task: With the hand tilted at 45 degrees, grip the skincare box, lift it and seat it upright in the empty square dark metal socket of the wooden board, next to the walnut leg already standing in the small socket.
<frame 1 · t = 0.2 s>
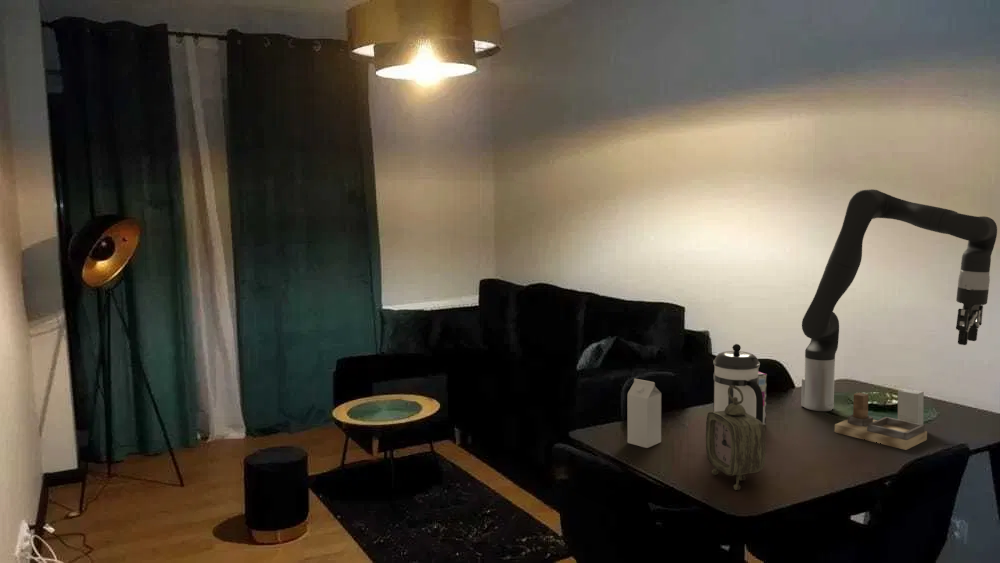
hand: (967, 342, 217), 29 cm above the table, tool pointing down, fingers open, 8 cm apart
skincare box: (909, 430, 230), on the table
wooden board: (879, 435, 225), on the table
coffee press: (738, 447, 219), on the table
candy bar box: (749, 421, 242), on the table
tabletop clock: (735, 482, 193), on the table
milk carton: (644, 443, 224), on the table
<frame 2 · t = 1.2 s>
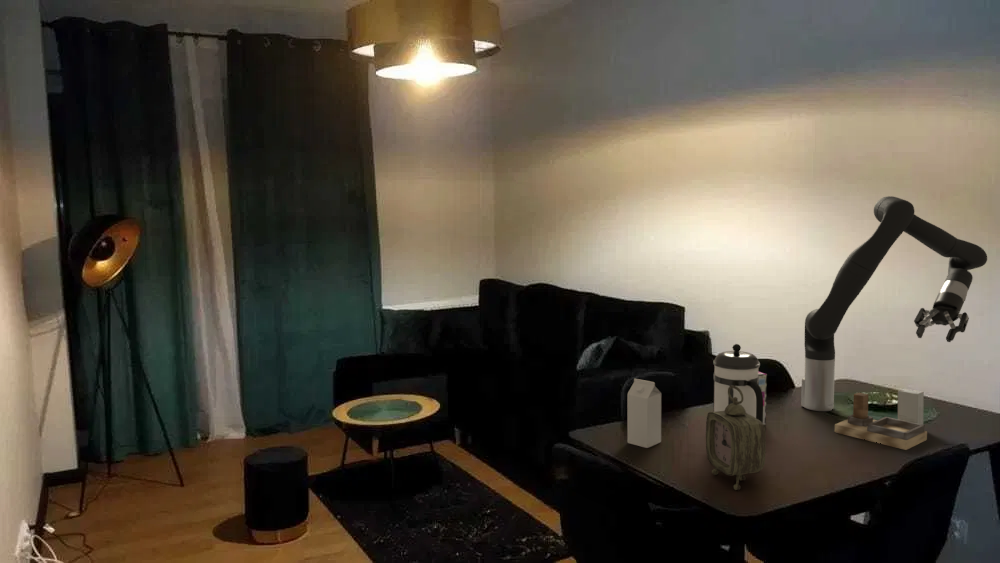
hand: (933, 338, 235), 26 cm above the table, tool tilted 45°, fingers open, 8 cm apart
nothing on the table moved.
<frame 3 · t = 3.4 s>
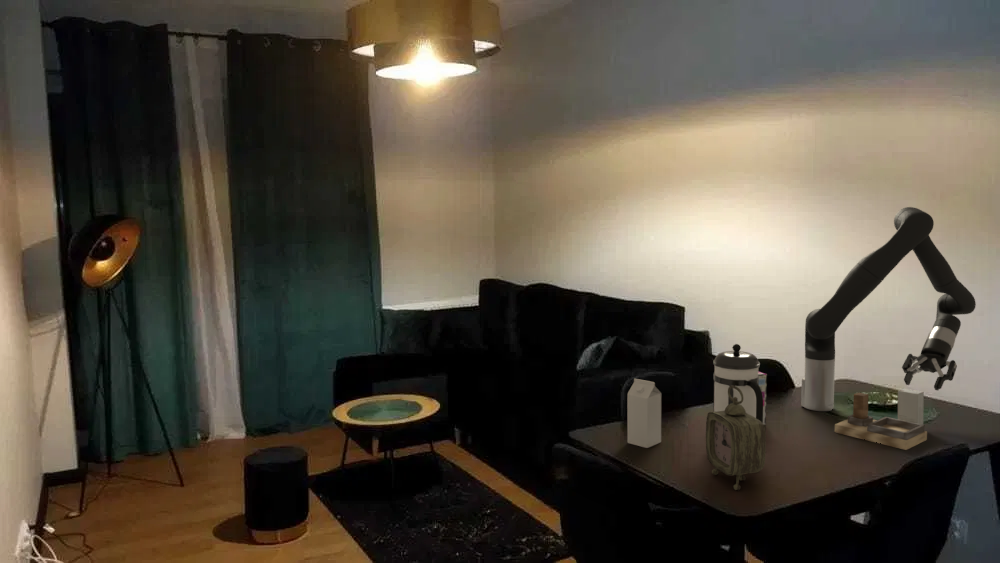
hand: (921, 386, 233), 12 cm above the table, tool tilted 45°, fingers open, 8 cm apart
nothing on the table moved.
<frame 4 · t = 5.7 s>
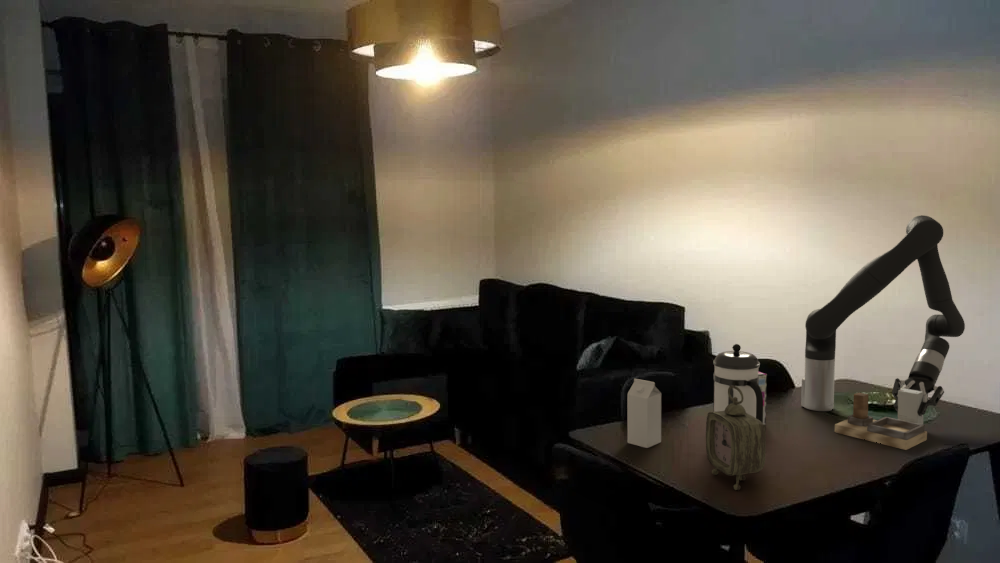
hand: (907, 412, 228), 6 cm above the table, tool tilted 45°, fingers closed on skincare box, 6 cm apart
skincare box: (909, 430, 230), on the table, touching gripper
everything else where it was.
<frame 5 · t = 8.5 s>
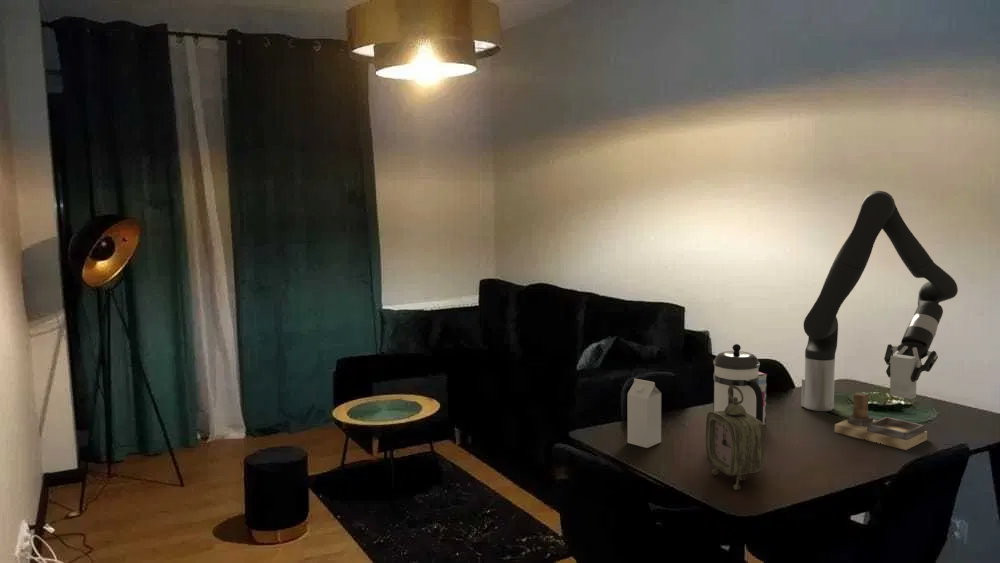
hand: (900, 378, 221), 18 cm above the table, tool tilted 45°, fingers closed on skincare box, 6 cm apart
skincare box: (902, 396, 223), point 12 cm above the table, touching gripper
everything else where it was.
when the fingers open (10 cm above the table, at t = 11.3 s): skincare box drops 2 cm, resting on wooden board.
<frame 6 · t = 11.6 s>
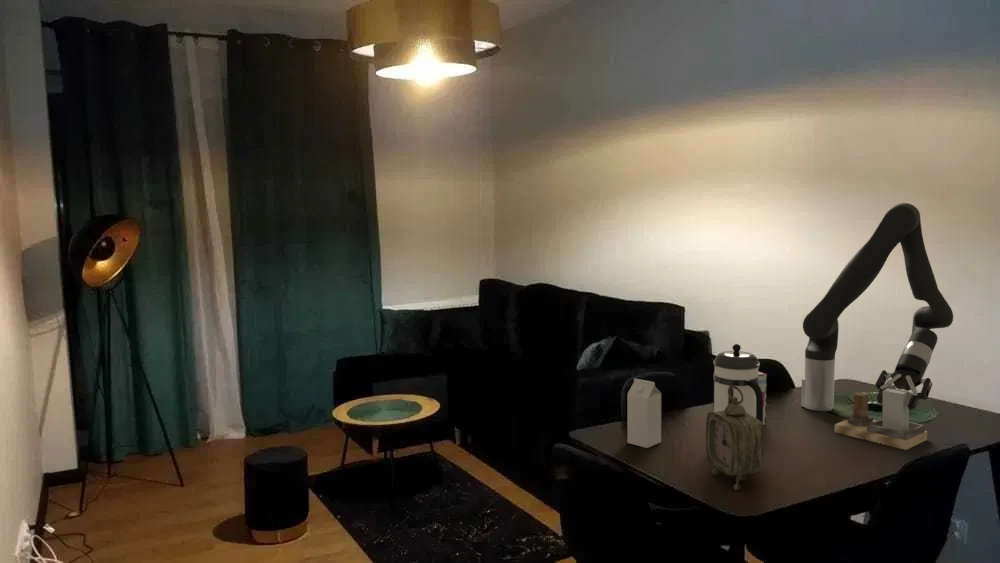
hand: (894, 405, 219), 11 cm above the table, tool tilted 45°, fingers open, 8 cm apart
skincare box: (894, 431, 221), point 2 cm above the table, touching wooden board
everything else where it was.
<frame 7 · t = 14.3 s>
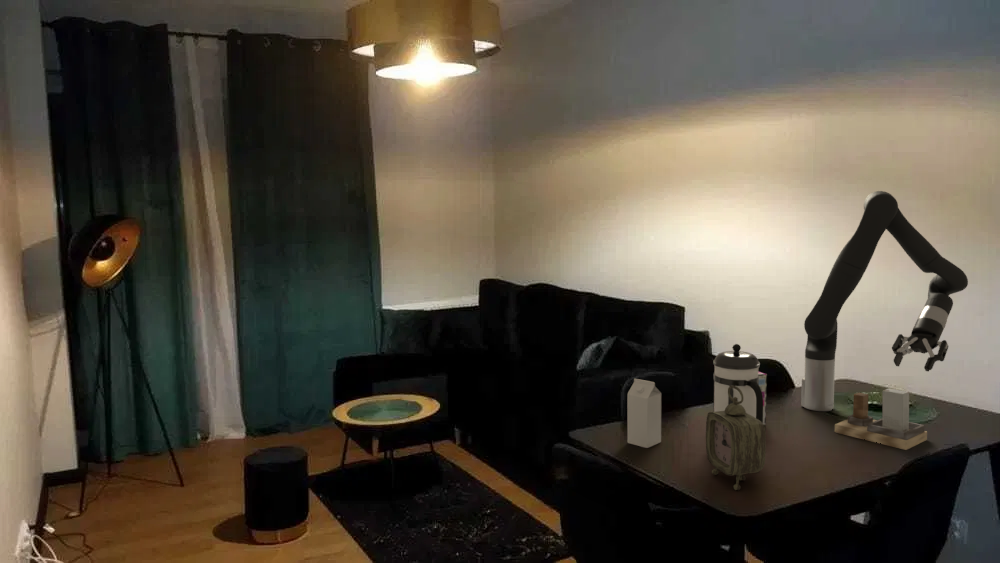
hand: (911, 367, 224), 20 cm above the table, tool tilted 45°, fingers open, 8 cm apart
nothing on the table moved.
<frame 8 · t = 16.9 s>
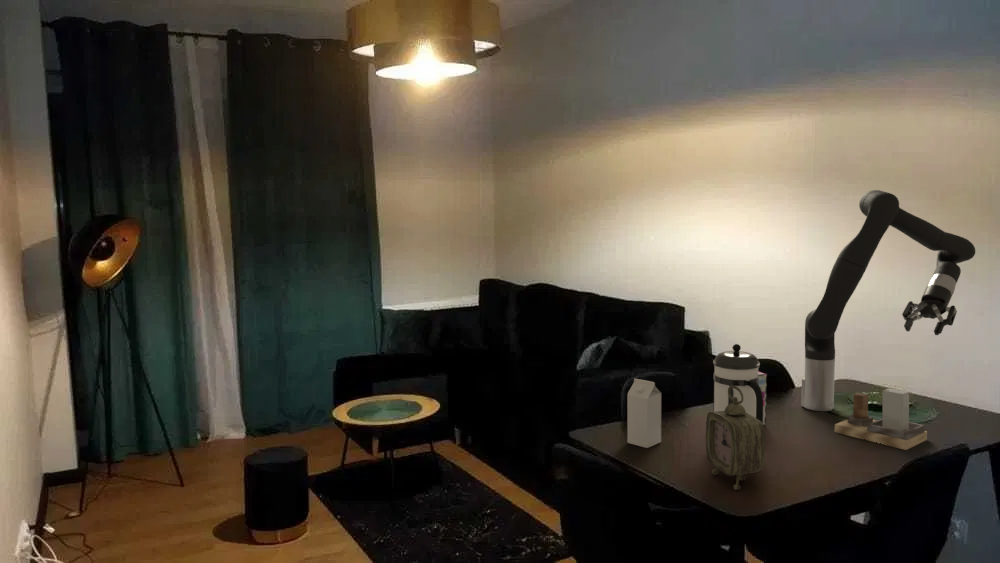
hand: (921, 331, 234), 29 cm above the table, tool tilted 45°, fingers open, 8 cm apart
nothing on the table moved.
at the end: skincare box 0.4 cm from the target spot on the wooden board, point 2.3 cm above the wooden board's base; skincare box tilted 0°; the gripper is holding nothing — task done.
